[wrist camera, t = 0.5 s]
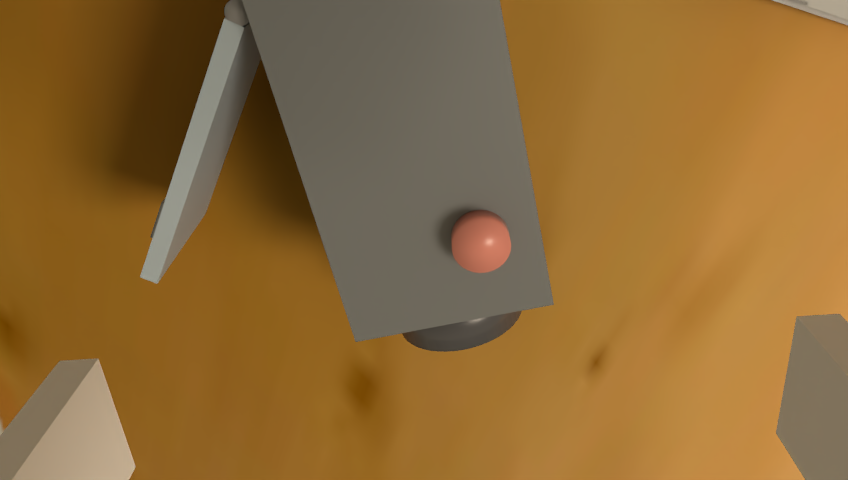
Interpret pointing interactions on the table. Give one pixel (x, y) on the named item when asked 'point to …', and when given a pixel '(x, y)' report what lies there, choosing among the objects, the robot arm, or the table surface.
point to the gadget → (822, 8)
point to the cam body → (410, 161)
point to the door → (205, 140)
